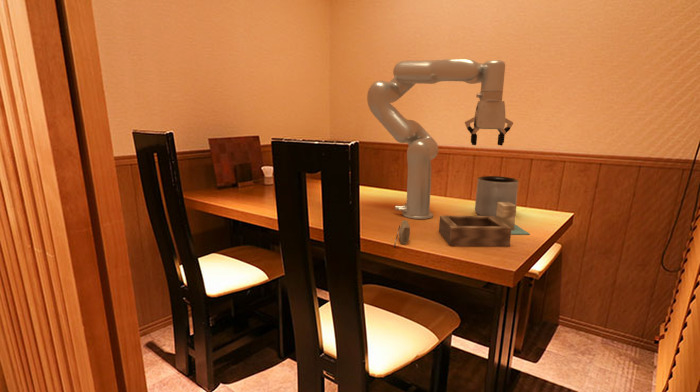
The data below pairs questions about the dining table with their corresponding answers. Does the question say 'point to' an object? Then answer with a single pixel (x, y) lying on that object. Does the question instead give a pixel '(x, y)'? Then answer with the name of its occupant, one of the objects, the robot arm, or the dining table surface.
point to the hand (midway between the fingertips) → (486, 145)
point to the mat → (518, 231)
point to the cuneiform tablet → (403, 232)
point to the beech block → (506, 213)
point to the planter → (494, 193)
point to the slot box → (474, 231)
